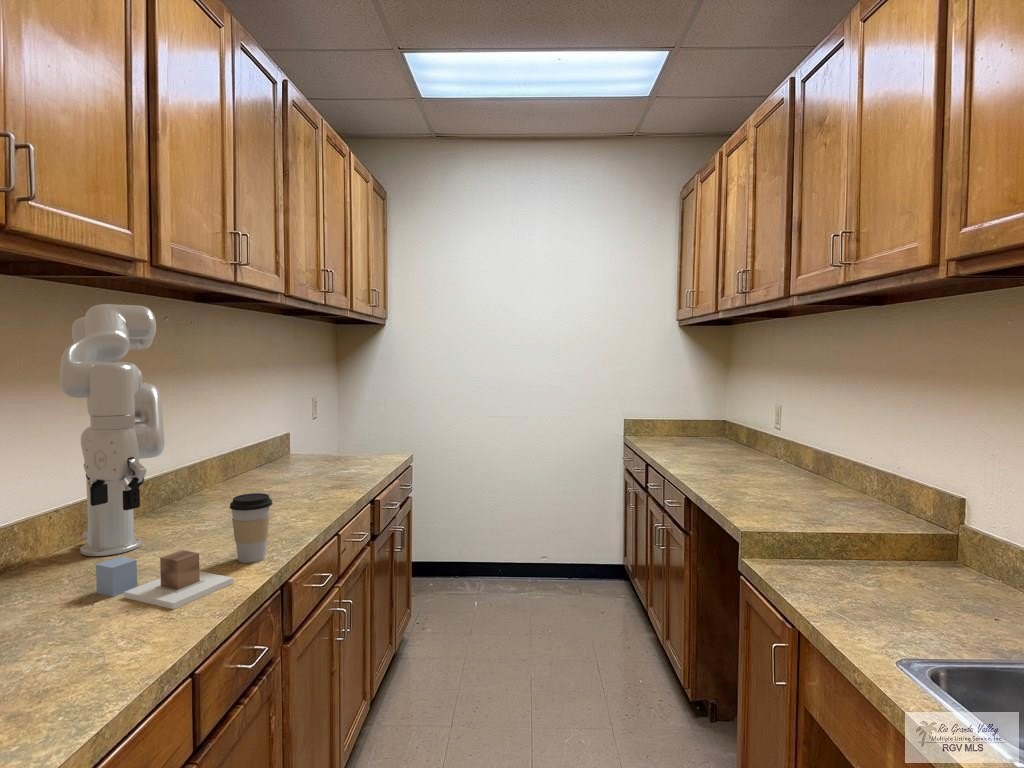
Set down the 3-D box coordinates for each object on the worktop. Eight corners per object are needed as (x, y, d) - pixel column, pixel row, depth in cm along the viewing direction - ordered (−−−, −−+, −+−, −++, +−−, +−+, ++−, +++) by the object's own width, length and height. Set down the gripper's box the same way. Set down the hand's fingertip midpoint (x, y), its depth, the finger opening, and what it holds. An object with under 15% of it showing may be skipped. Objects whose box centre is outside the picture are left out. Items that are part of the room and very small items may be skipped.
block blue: (96, 593, 120) (95, 564, 119) (120, 584, 124) (120, 556, 124) (113, 597, 118) (112, 567, 118) (137, 588, 122) (136, 559, 122)
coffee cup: (232, 554, 143) (231, 494, 142) (273, 550, 146) (273, 491, 146) (228, 567, 134) (227, 503, 133) (272, 563, 137) (271, 500, 137)
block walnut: (160, 586, 120) (160, 557, 120) (182, 577, 124) (182, 550, 124) (178, 590, 118) (177, 560, 118) (199, 581, 123) (199, 553, 122)
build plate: (124, 597, 117) (123, 591, 117) (186, 573, 130) (185, 567, 130) (173, 609, 112) (173, 602, 112) (233, 583, 125) (233, 577, 125)
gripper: (65, 423, 119) (68, 506, 120) (123, 427, 113) (126, 515, 113) (103, 420, 126) (105, 498, 127) (160, 423, 120) (161, 506, 120)
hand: (115, 506), depth 120 cm, fingers open, 9 cm apart
